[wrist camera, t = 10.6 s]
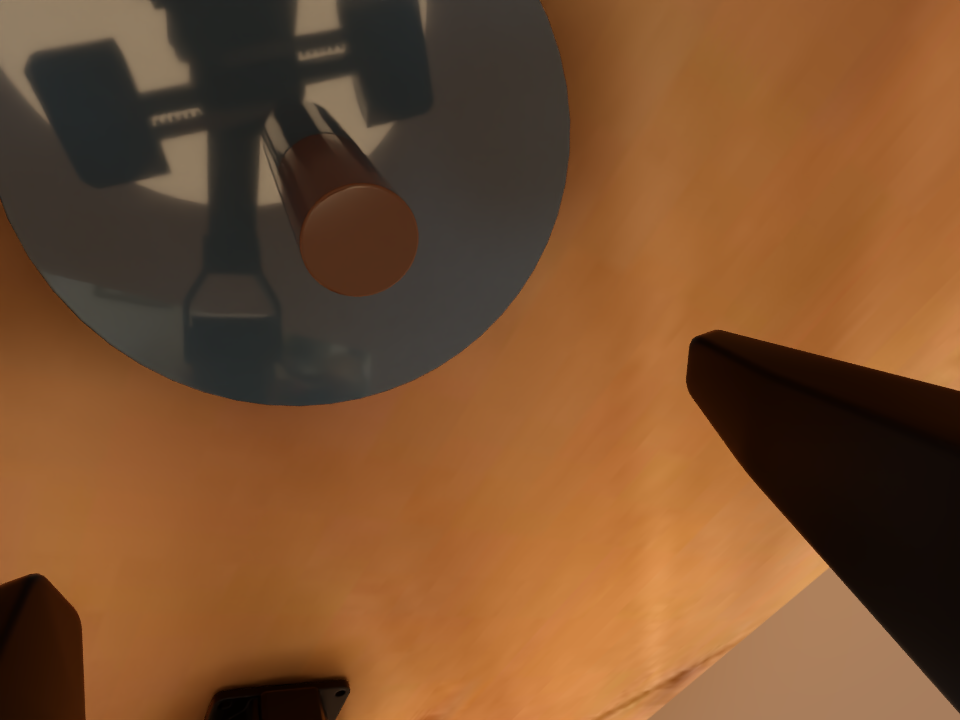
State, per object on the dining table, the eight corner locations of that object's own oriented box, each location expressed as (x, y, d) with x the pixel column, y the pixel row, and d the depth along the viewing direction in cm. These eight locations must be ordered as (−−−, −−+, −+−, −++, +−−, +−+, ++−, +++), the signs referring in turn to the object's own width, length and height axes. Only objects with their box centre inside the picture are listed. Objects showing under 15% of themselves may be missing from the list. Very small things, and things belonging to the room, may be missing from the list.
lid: (564, 313, 24) (647, 395, 19) (162, 446, 20) (153, 581, 16) (537, -209, 15) (681, -275, 10) (-188, -126, 11) (-424, -174, 7)
